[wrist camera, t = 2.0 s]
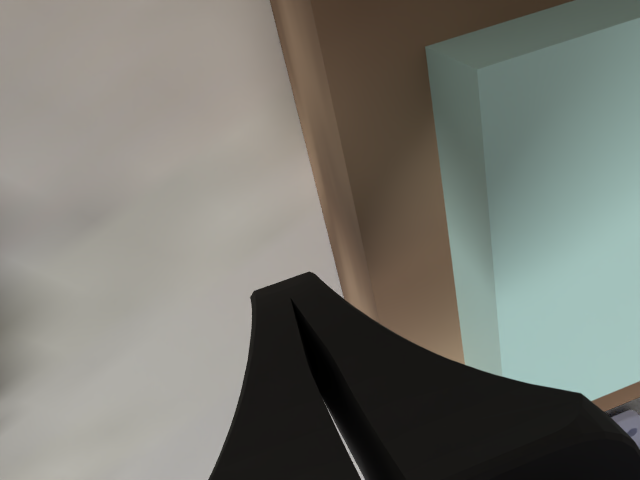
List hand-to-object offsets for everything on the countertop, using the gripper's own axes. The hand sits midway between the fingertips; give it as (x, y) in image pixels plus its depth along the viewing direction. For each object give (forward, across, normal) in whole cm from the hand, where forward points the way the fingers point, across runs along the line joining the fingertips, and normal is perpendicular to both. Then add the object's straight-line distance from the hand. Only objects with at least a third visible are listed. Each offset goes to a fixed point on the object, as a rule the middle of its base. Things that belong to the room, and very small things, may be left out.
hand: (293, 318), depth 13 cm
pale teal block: (+1, -7, 0) cm, 7 cm away
